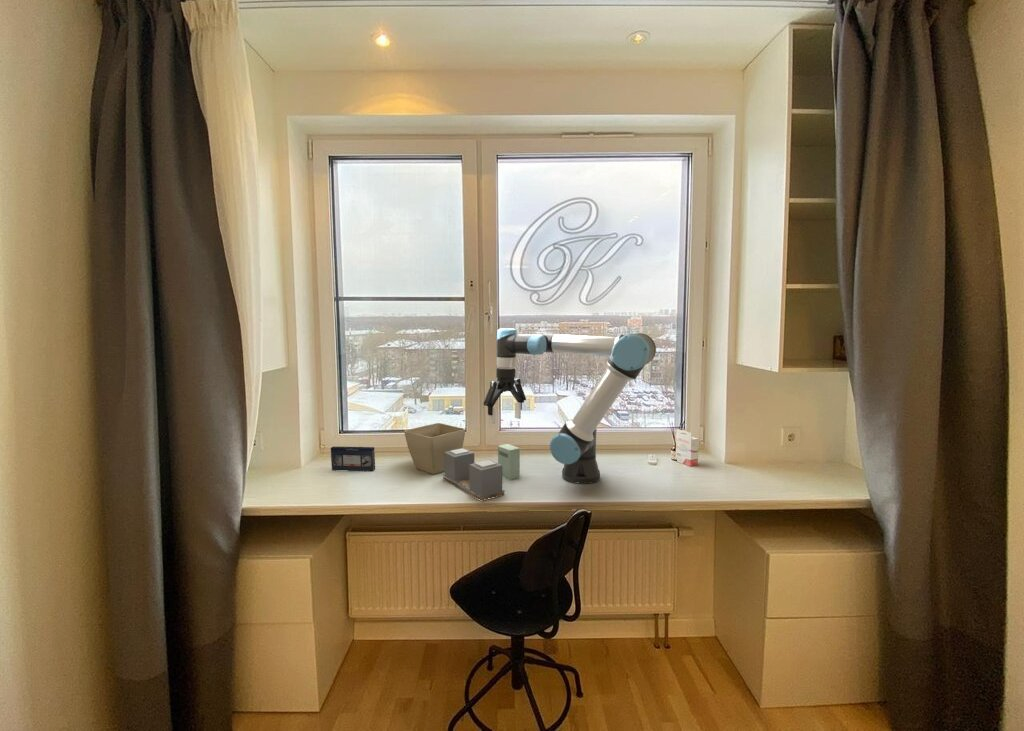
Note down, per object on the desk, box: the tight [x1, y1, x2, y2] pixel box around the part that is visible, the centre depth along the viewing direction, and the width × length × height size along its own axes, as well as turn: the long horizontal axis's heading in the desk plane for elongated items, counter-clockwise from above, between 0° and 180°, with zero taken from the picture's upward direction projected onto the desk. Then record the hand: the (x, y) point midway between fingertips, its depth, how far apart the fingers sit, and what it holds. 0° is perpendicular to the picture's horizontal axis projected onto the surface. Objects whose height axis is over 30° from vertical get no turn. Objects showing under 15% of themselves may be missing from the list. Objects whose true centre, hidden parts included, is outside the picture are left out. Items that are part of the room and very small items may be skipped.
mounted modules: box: [444, 447, 504, 497], centre depth 171 cm, size 9×27×11 cm, turn 37°
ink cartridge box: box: [675, 428, 699, 467], centre depth 197 cm, size 9×5×15 cm, turn 28°
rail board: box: [442, 474, 506, 501], centre depth 171 cm, size 10×28×2 cm, turn 37°
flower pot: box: [403, 422, 466, 475], centre depth 192 cm, size 19×19×17 cm
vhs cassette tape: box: [330, 446, 376, 472], centre depth 191 cm, size 18×3×10 cm, turn 83°
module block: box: [497, 443, 521, 481], centre depth 182 cm, size 5×8×12 cm, turn 37°
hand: (505, 420), depth 179 cm, fingers open, 13 cm apart
